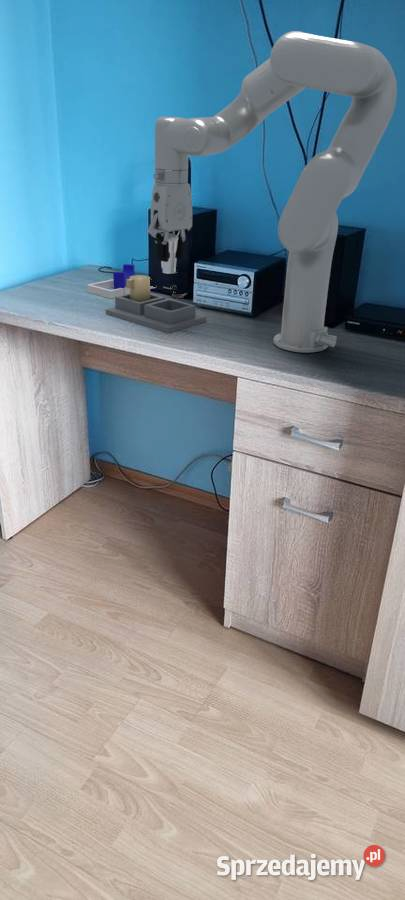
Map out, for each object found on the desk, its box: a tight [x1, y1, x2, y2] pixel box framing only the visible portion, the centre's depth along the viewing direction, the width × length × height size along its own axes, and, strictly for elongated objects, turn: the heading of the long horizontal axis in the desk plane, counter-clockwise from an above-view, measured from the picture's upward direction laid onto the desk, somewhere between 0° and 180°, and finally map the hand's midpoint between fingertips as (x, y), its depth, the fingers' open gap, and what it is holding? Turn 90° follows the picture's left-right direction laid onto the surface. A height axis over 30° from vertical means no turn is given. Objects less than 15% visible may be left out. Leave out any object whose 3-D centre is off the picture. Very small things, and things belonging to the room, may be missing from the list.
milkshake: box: [160, 231, 180, 275], centre depth 158 cm, size 4×5×10 cm
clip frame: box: [86, 278, 157, 299], centre depth 192 cm, size 10×18×2 cm, turn 140°
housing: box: [105, 274, 207, 334], centre depth 167 cm, size 22×14×9 cm, turn 50°
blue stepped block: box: [112, 263, 136, 290], centre depth 191 cm, size 12×4×6 cm, turn 171°
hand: (170, 258), depth 159 cm, fingers closed on milkshake, 4 cm apart
